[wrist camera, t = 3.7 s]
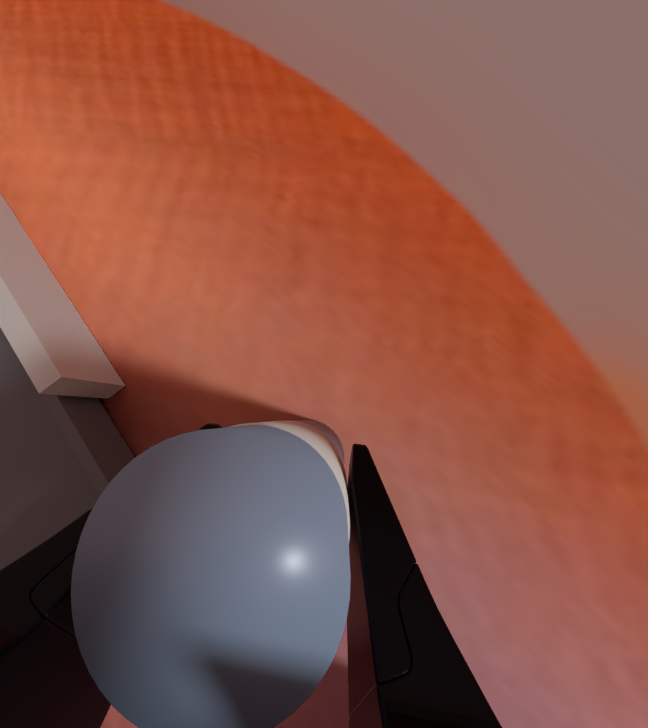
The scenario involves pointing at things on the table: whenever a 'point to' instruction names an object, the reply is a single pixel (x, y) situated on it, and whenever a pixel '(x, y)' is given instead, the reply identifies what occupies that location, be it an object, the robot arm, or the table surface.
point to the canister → (217, 576)
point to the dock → (47, 322)
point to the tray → (49, 458)
